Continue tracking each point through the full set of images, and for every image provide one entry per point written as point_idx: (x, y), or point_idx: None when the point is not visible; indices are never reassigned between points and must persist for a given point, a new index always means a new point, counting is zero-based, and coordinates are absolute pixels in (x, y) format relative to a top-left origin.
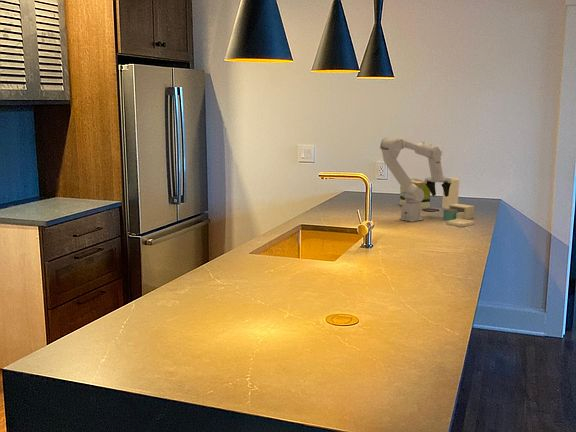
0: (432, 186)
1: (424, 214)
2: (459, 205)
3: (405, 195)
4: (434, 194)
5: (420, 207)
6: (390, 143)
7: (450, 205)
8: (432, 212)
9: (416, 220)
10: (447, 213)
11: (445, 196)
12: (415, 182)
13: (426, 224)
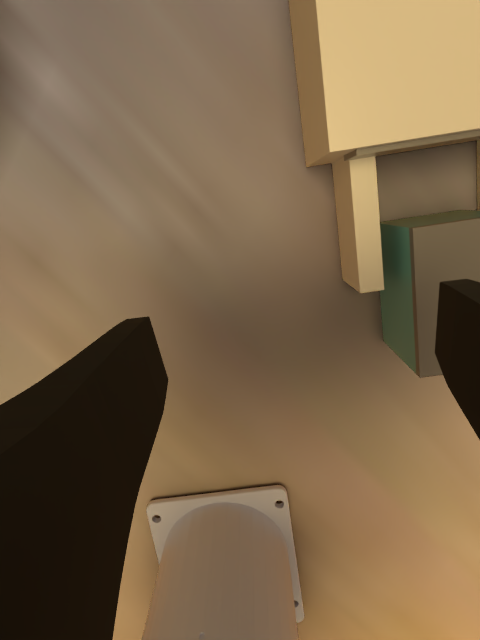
0: (89, 524)
1: (86, 292)
2: (457, 36)
3: None
4: (156, 363)
5: (280, 611)
6: None
7: (352, 148)
8: (29, 125)
9: (298, 575)
10: None
11: (444, 358)
12: None
13: (428, 588)
